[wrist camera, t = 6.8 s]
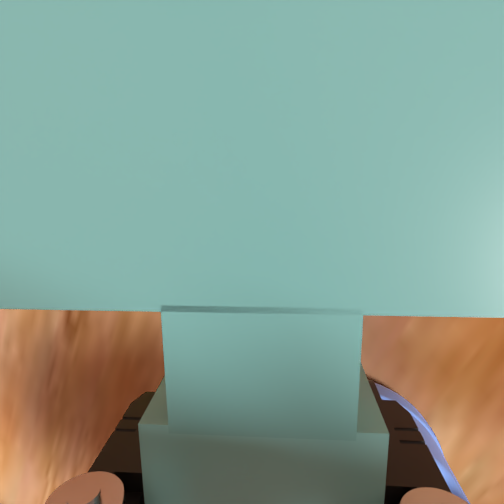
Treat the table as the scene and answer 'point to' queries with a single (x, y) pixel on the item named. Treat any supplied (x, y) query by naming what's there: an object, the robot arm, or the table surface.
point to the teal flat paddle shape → (255, 211)
